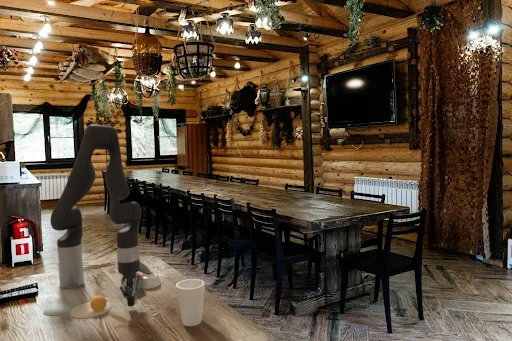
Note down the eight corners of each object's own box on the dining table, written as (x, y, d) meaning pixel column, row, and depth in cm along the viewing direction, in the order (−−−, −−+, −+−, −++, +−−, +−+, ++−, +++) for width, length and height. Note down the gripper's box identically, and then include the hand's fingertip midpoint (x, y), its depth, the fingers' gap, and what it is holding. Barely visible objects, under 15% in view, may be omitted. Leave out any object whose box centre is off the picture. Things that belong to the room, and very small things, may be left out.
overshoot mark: (38, 311, 151) (38, 311, 151) (64, 301, 159) (64, 301, 159) (52, 318, 145) (52, 317, 145) (79, 307, 153) (79, 307, 153)
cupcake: (136, 295, 163) (135, 265, 162) (117, 294, 164) (115, 264, 163) (146, 287, 171) (145, 259, 170) (127, 286, 173) (126, 258, 172)
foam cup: (182, 331, 132) (180, 291, 131) (174, 319, 141) (172, 282, 139) (210, 323, 137) (208, 285, 136) (200, 313, 145) (199, 277, 144)
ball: (87, 296, 148) (102, 291, 149) (93, 300, 153) (108, 295, 153) (88, 311, 145) (103, 307, 146) (94, 314, 150) (109, 310, 150)
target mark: (61, 312, 149) (61, 311, 149) (96, 298, 161) (96, 298, 161) (84, 321, 141) (84, 321, 141) (119, 306, 153) (119, 306, 153)
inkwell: (151, 290, 168) (150, 266, 167) (116, 284, 175) (115, 261, 174) (165, 282, 176) (164, 259, 175) (131, 277, 184) (130, 255, 183)
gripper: (132, 264, 141) (135, 313, 143) (144, 252, 154) (147, 298, 156) (110, 264, 142) (113, 313, 143) (125, 253, 155) (127, 298, 157)
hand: (131, 305), depth 150 cm, fingers closed
